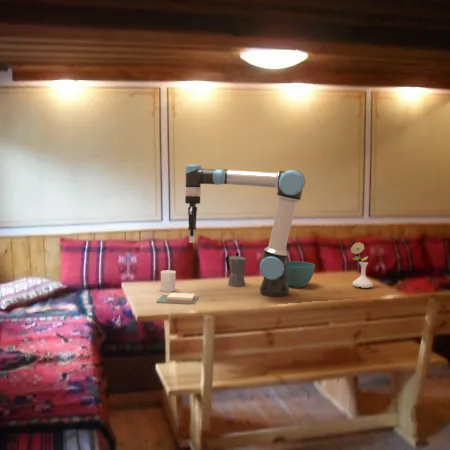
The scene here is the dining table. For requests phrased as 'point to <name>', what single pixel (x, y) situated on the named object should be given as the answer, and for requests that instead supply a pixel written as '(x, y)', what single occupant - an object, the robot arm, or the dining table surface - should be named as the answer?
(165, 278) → the white cup
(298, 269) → the teal bowl
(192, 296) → the plaque
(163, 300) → the mat
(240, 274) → the coffeepot
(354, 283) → the flower in vase
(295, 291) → the dining table surface
